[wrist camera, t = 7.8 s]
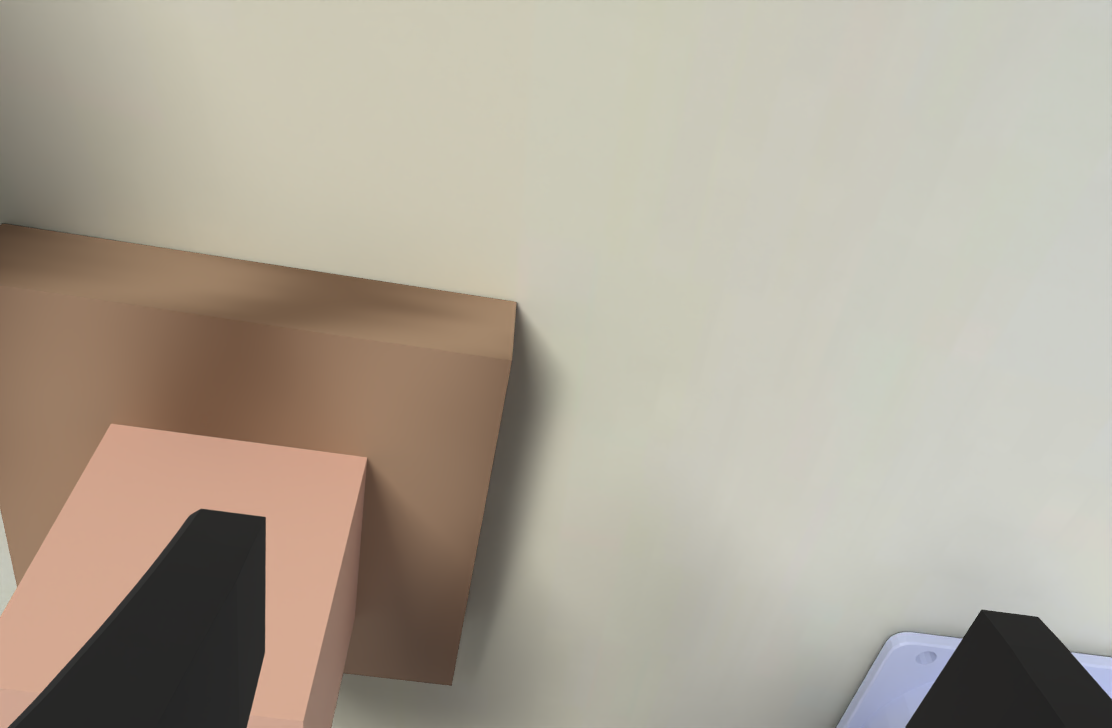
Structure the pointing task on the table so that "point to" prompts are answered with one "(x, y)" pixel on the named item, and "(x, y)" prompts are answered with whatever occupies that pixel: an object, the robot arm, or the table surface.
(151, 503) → the block
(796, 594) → the table surface
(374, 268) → the table surface
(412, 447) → the board
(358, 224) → the table surface
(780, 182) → the table surface
